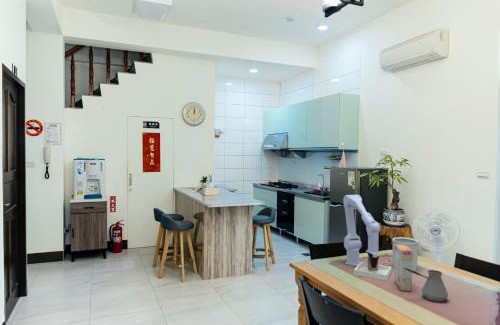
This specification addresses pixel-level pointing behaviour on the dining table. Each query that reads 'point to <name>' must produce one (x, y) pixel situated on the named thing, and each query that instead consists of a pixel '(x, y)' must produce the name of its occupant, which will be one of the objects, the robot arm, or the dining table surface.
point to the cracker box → (403, 267)
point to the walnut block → (371, 267)
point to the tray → (380, 274)
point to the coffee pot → (433, 286)
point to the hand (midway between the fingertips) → (372, 266)
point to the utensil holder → (411, 244)
